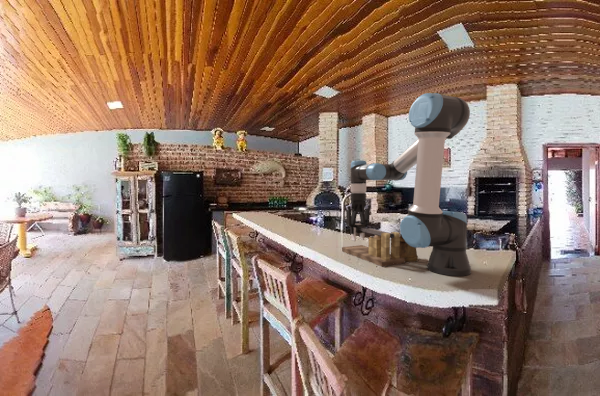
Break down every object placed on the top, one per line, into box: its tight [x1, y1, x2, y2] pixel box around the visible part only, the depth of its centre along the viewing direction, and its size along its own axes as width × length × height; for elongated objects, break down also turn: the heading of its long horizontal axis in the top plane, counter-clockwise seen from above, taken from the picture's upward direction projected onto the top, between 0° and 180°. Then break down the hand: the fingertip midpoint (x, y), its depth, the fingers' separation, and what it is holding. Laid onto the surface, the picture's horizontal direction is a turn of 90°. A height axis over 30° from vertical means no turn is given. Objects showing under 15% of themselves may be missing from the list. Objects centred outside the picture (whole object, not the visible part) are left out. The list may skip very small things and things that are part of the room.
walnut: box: [373, 234, 381, 239], centre depth 133 cm, size 4×4×4 cm
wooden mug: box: [399, 233, 419, 263], centre depth 134 cm, size 9×14×18 cm, turn 129°
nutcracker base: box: [341, 231, 406, 267], centre depth 138 cm, size 30×12×13 cm, turn 24°
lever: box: [354, 222, 394, 239], centre depth 137 cm, size 26×4×4 cm, turn 24°
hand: (357, 240), depth 147 cm, fingers closed on lever, 4 cm apart
